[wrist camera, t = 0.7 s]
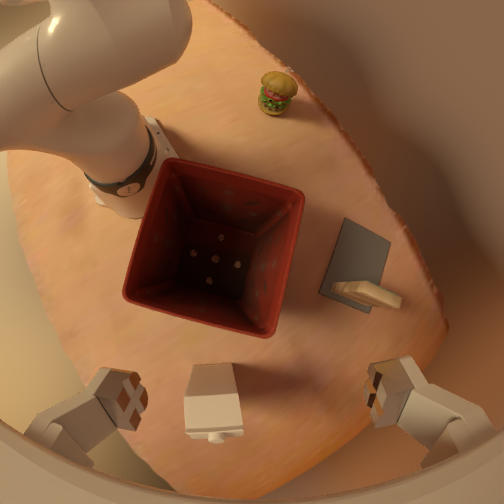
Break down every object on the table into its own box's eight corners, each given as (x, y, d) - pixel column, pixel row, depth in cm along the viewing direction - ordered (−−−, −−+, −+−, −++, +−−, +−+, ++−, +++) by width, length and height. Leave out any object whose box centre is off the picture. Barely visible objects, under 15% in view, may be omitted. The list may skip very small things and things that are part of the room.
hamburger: (249, 108, 53) (257, 72, 41) (264, 89, 54) (274, 54, 42) (280, 124, 53) (295, 90, 41) (294, 104, 55) (309, 70, 43)
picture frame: (363, 305, 50) (398, 308, 38) (330, 291, 50) (361, 291, 38) (366, 295, 51) (402, 296, 39) (334, 280, 50) (366, 278, 38)
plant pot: (180, 195, 49) (164, 154, 32) (278, 221, 51) (307, 191, 34) (151, 295, 46) (119, 299, 29) (254, 322, 48) (273, 341, 31)
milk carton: (192, 365, 45) (179, 409, 27) (231, 362, 46) (240, 405, 27) (197, 399, 44) (190, 454, 26) (235, 396, 45) (246, 451, 27)
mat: (367, 313, 51) (368, 313, 50) (318, 293, 50) (319, 293, 49) (389, 242, 53) (390, 242, 53) (344, 218, 52) (345, 217, 52)
